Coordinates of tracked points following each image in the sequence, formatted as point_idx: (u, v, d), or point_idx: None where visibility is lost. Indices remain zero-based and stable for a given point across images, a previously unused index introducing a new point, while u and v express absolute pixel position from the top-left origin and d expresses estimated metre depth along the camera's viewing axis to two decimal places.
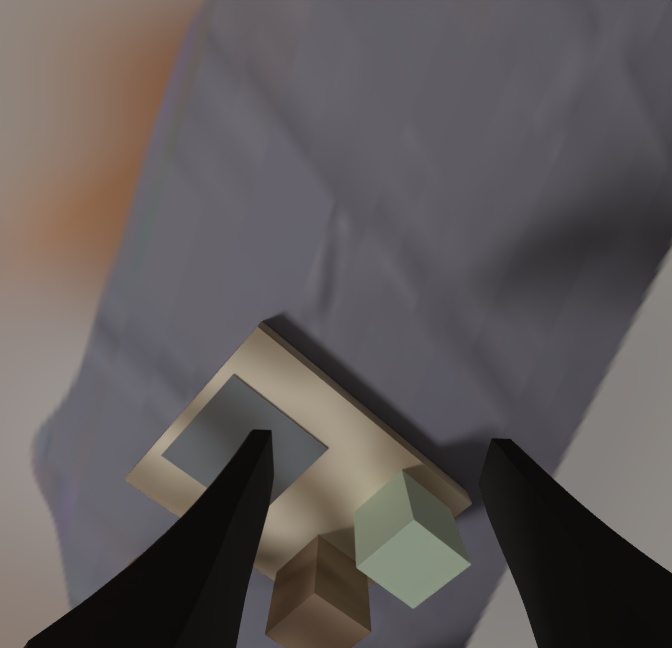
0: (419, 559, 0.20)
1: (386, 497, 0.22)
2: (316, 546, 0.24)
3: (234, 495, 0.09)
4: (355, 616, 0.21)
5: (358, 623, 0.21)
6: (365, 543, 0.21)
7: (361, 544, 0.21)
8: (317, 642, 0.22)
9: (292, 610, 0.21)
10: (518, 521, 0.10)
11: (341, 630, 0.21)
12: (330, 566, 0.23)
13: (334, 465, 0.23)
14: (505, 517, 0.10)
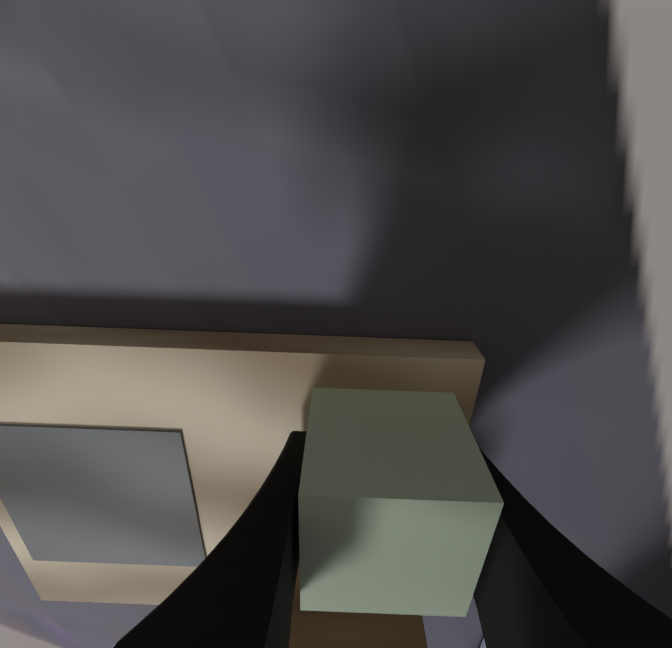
0: (389, 549, 0.09)
1: None
2: None
3: (287, 497, 0.09)
4: None
5: None
6: None
7: None
8: None
9: None
10: None
11: None
12: None
13: (216, 446, 0.13)
14: None
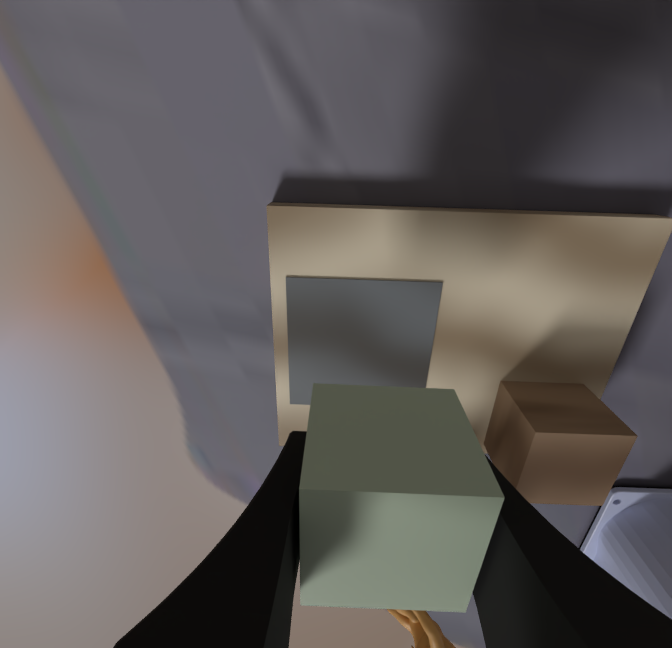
0: (389, 543, 0.09)
1: None
2: (506, 392, 0.19)
3: (287, 497, 0.09)
4: (604, 430, 0.16)
5: (614, 435, 0.16)
6: None
7: None
8: (577, 480, 0.17)
9: (524, 463, 0.17)
10: None
11: (597, 453, 0.16)
12: (536, 401, 0.18)
13: (463, 295, 0.18)
14: None
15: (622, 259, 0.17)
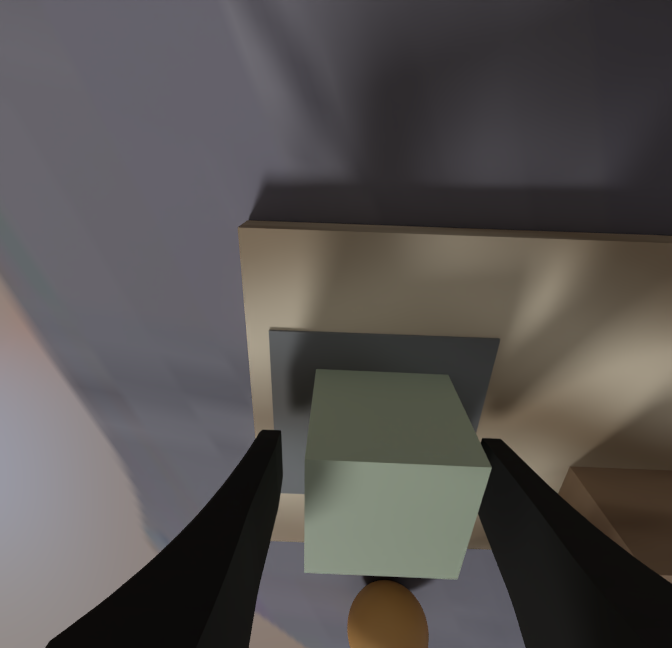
0: (387, 512, 0.09)
1: None
2: (581, 487, 0.13)
3: (247, 495, 0.09)
4: None
5: None
6: None
7: None
8: None
9: None
10: (507, 521, 0.10)
11: None
12: (630, 506, 0.13)
13: (528, 357, 0.12)
14: (494, 517, 0.10)
15: None
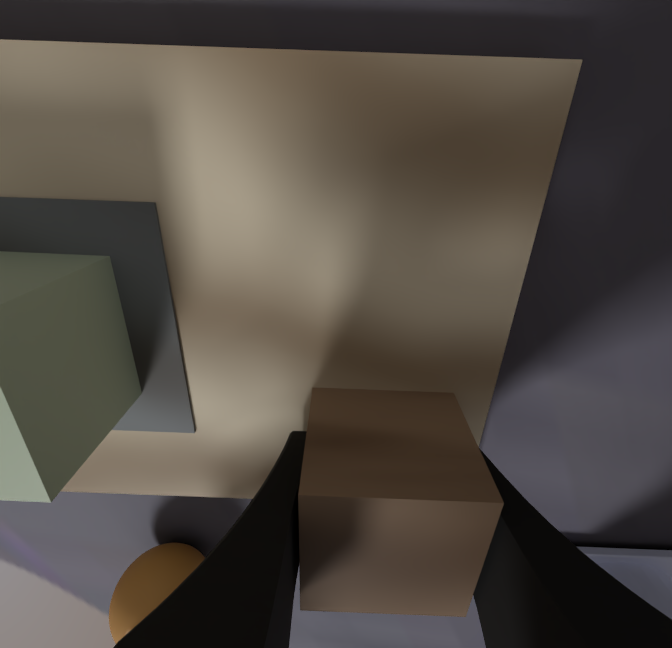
0: None
1: None
2: (310, 408, 0.11)
3: (287, 497, 0.09)
4: (442, 490, 0.08)
5: (457, 501, 0.08)
6: None
7: None
8: (407, 577, 0.09)
9: (299, 549, 0.09)
10: None
11: (433, 533, 0.08)
12: (349, 425, 0.10)
13: (203, 230, 0.09)
14: None
15: (485, 153, 0.09)
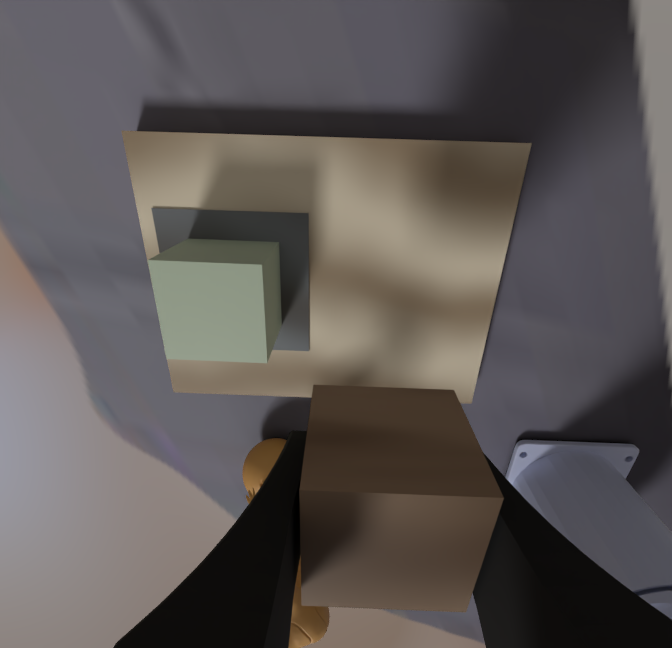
0: (207, 303, 0.15)
1: None
2: (311, 405, 0.11)
3: (287, 497, 0.09)
4: (442, 486, 0.08)
5: (457, 496, 0.08)
6: None
7: None
8: (408, 573, 0.09)
9: (300, 544, 0.09)
10: None
11: (433, 528, 0.08)
12: (349, 422, 0.10)
13: (332, 228, 0.17)
14: None
15: (484, 187, 0.17)
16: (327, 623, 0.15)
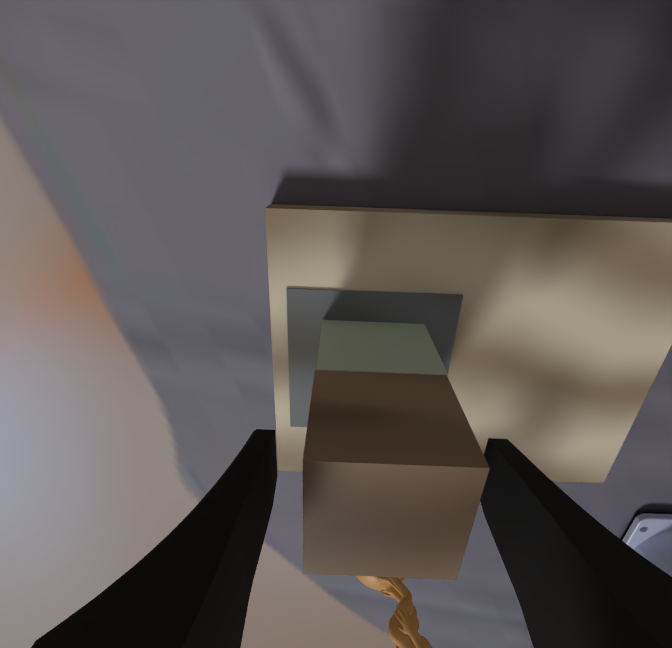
0: None
1: None
2: (312, 388, 0.12)
3: (238, 495, 0.09)
4: (433, 457, 0.09)
5: (447, 466, 0.09)
6: None
7: None
8: (402, 541, 0.10)
9: (303, 513, 0.10)
10: (514, 521, 0.10)
11: (425, 498, 0.09)
12: (348, 402, 0.11)
13: (486, 309, 0.16)
14: (501, 517, 0.10)
15: (666, 270, 0.15)
16: None
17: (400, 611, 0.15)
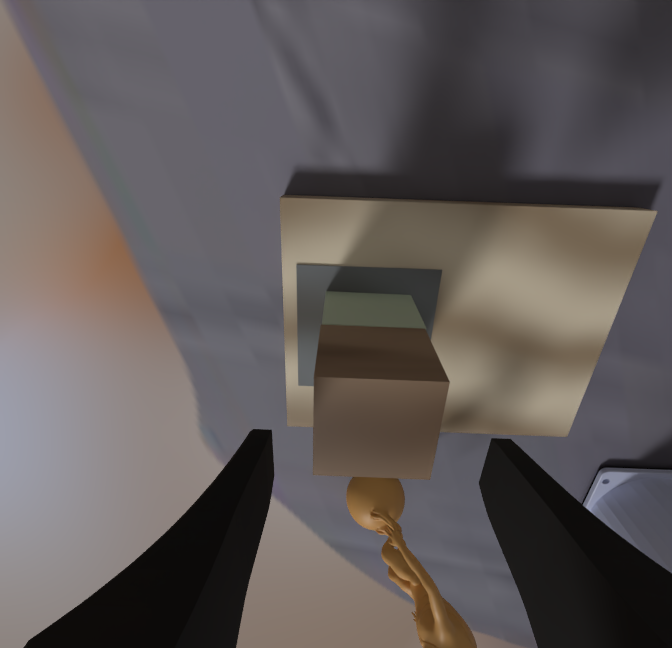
0: None
1: None
2: (319, 336, 0.15)
3: (234, 495, 0.09)
4: (409, 376, 0.12)
5: (419, 381, 0.12)
6: None
7: None
8: (387, 445, 0.13)
9: (313, 422, 0.13)
10: (518, 521, 0.10)
11: (404, 407, 0.12)
12: (347, 344, 0.14)
13: (461, 282, 0.19)
14: (505, 517, 0.10)
15: (608, 248, 0.18)
16: None
17: (390, 529, 0.18)
